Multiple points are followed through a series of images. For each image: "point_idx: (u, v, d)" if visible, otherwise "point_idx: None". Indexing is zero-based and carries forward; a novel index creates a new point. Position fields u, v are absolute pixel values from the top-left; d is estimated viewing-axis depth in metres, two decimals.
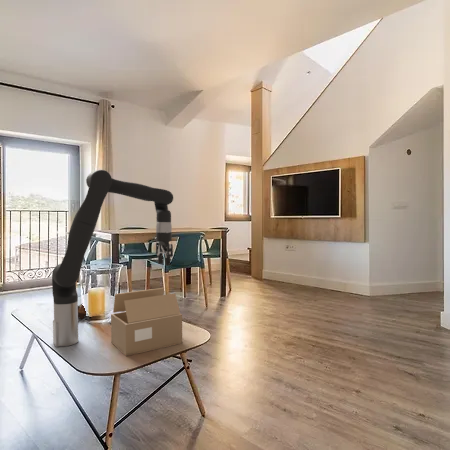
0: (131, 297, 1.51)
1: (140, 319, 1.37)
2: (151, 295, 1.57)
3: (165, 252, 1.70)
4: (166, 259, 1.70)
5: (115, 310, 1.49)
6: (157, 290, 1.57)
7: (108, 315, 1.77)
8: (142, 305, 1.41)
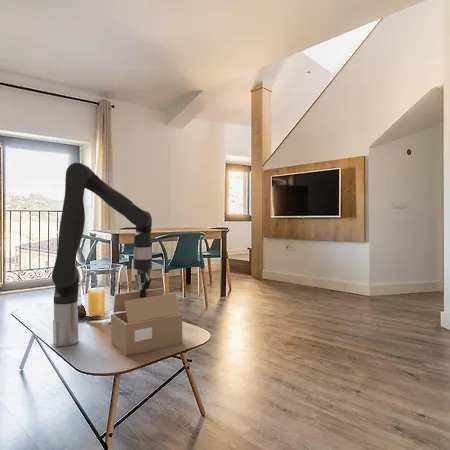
0: (131, 297, 1.51)
1: (140, 319, 1.37)
2: (151, 295, 1.57)
3: (141, 284, 1.49)
4: (141, 291, 1.50)
5: (115, 310, 1.49)
6: (157, 290, 1.57)
7: (108, 315, 1.77)
8: (142, 305, 1.41)
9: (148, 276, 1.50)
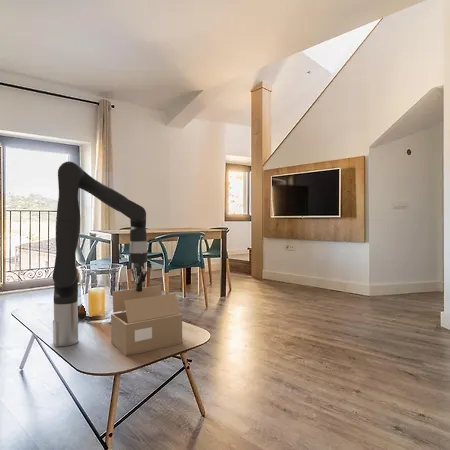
0: (129, 294, 1.53)
1: (140, 319, 1.37)
2: (149, 293, 1.59)
3: (137, 277, 1.53)
4: (137, 284, 1.54)
5: (115, 309, 1.50)
6: (154, 288, 1.60)
7: (108, 315, 1.77)
8: (142, 305, 1.41)
9: (144, 270, 1.54)
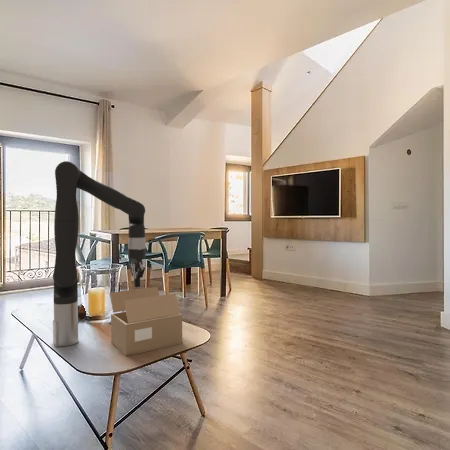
0: (126, 295, 1.56)
1: (140, 319, 1.37)
2: (146, 294, 1.61)
3: (135, 273, 1.55)
4: (135, 280, 1.56)
5: (114, 309, 1.50)
6: (151, 288, 1.63)
7: (108, 315, 1.77)
8: (142, 305, 1.41)
9: (142, 265, 1.56)
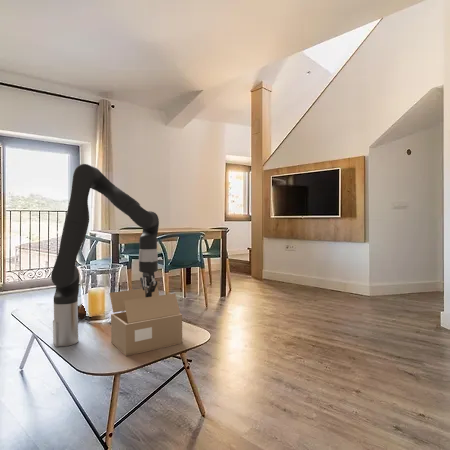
0: (126, 295, 1.56)
1: (140, 319, 1.37)
2: None
3: (147, 287, 1.44)
4: (147, 295, 1.45)
5: (114, 309, 1.50)
6: None
7: (108, 315, 1.77)
8: (142, 305, 1.41)
9: (154, 279, 1.46)
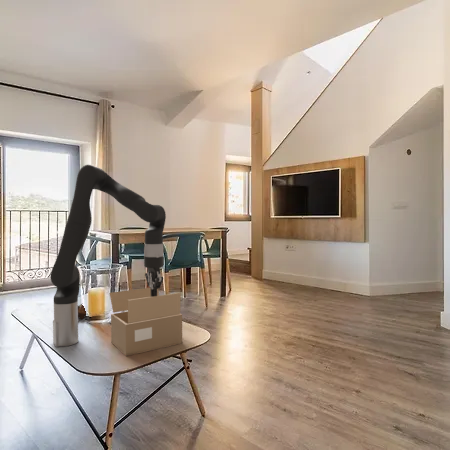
0: (126, 295, 1.56)
1: (140, 319, 1.37)
2: (146, 294, 1.61)
3: (152, 283, 1.40)
4: (152, 291, 1.41)
5: (114, 309, 1.50)
6: None
7: (108, 315, 1.77)
8: (145, 305, 1.38)
9: None
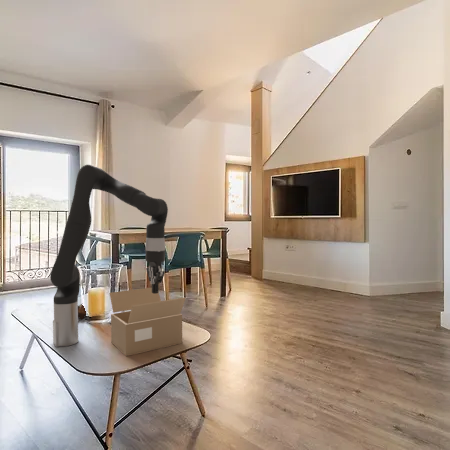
0: (126, 295, 1.56)
1: (140, 320, 1.37)
2: (146, 294, 1.61)
3: (154, 278, 1.38)
4: (153, 286, 1.39)
5: (114, 309, 1.50)
6: (151, 289, 1.63)
7: (108, 315, 1.77)
8: (148, 309, 1.36)
9: (161, 269, 1.39)
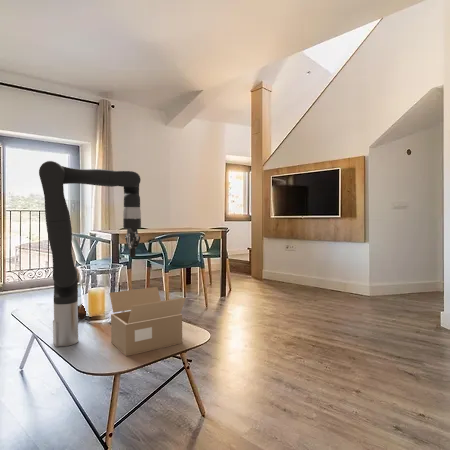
0: (126, 295, 1.56)
1: (140, 320, 1.37)
2: (146, 294, 1.61)
3: (131, 243, 1.54)
4: (131, 250, 1.55)
5: (114, 309, 1.50)
6: (151, 289, 1.63)
7: (108, 315, 1.77)
8: (148, 309, 1.36)
9: None
